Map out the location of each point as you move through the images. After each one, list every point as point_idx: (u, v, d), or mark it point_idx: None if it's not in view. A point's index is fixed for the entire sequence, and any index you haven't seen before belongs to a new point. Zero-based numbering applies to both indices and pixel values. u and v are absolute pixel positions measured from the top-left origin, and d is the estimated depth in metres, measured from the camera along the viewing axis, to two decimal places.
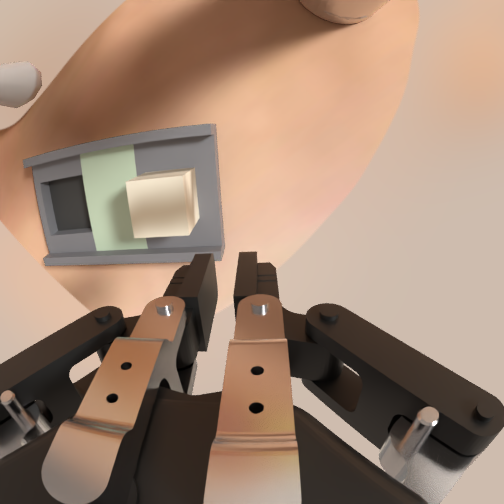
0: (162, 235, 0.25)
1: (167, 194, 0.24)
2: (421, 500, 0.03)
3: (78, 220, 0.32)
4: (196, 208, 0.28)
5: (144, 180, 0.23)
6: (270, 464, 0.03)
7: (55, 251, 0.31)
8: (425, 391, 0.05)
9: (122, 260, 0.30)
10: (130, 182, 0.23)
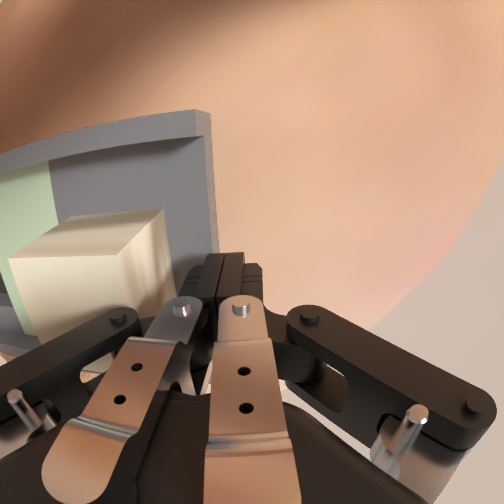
0: (98, 370, 0.10)
1: (88, 294, 0.09)
2: (421, 500, 0.03)
3: None
4: (170, 295, 0.13)
5: (38, 259, 0.08)
6: (266, 463, 0.03)
7: None
8: (413, 389, 0.05)
9: None
10: (15, 260, 0.08)
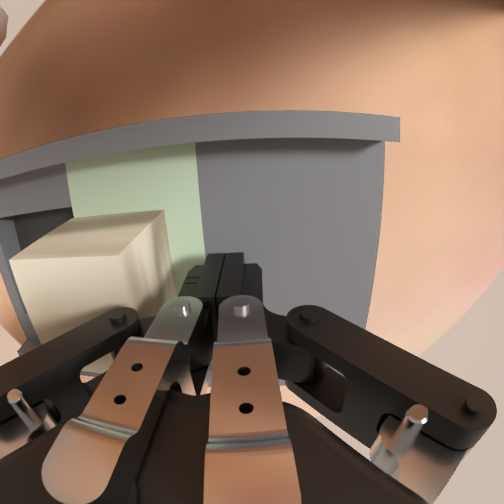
0: (99, 371, 0.10)
1: (90, 295, 0.09)
2: (421, 500, 0.03)
3: None
4: (171, 296, 0.13)
5: (39, 260, 0.08)
6: (266, 463, 0.03)
7: (36, 337, 0.16)
8: (412, 389, 0.05)
9: None
10: (16, 262, 0.08)
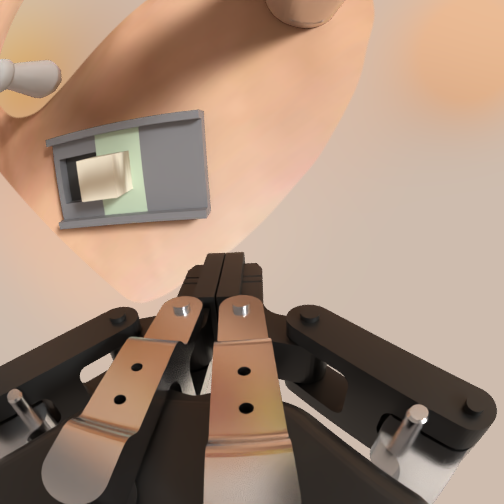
0: (99, 198, 0.32)
1: (102, 168, 0.30)
2: (421, 500, 0.03)
3: None
4: (128, 180, 0.35)
5: (87, 159, 0.30)
6: (266, 463, 0.03)
7: (69, 217, 0.38)
8: (413, 389, 0.05)
9: (126, 220, 0.37)
10: (79, 161, 0.30)
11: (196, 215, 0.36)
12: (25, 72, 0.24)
